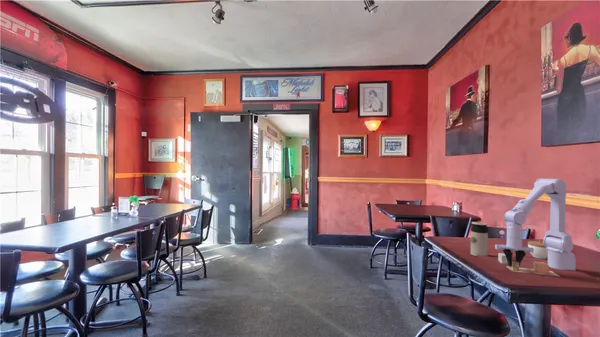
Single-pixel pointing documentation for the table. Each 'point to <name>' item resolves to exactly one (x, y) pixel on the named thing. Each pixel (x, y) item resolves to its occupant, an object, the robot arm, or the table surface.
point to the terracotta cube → (541, 267)
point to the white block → (502, 258)
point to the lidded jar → (538, 249)
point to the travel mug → (479, 239)
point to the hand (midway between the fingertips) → (513, 266)
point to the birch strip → (516, 268)
